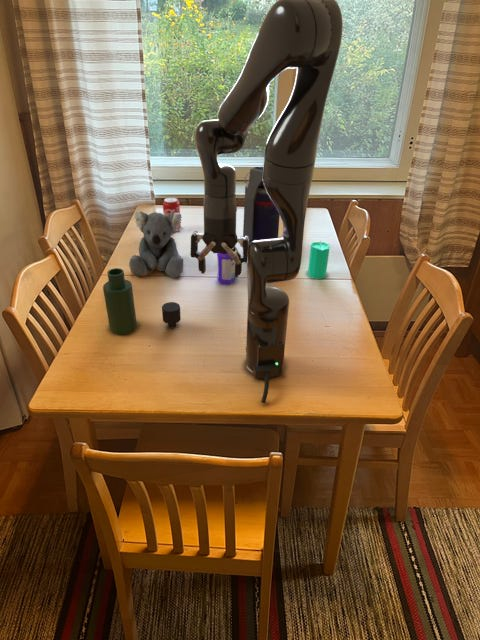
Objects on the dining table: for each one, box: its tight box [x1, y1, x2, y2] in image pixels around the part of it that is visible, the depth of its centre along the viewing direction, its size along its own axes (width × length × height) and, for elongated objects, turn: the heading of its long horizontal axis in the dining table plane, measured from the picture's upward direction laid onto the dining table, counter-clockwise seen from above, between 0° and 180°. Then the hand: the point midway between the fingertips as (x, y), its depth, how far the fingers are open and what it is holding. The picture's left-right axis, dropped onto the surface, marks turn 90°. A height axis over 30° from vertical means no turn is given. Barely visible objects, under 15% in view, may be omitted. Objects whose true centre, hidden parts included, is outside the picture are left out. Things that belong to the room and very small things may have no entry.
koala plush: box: [128, 210, 184, 279], centre depth 153 cm, size 17×18×20 cm
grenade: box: [242, 166, 281, 244], centre depth 159 cm, size 14×12×30 cm
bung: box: [161, 301, 182, 329], centre depth 128 cm, size 5×5×6 cm
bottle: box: [216, 253, 237, 285], centre depth 146 cm, size 7×6×17 cm
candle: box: [307, 241, 331, 280], centre depth 152 cm, size 6×6×12 cm
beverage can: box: [162, 196, 182, 233], centre depth 181 cm, size 6×6×12 cm
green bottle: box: [102, 267, 138, 336], centre depth 124 cm, size 7×7×17 cm
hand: (220, 274), depth 118 cm, fingers open, 8 cm apart
